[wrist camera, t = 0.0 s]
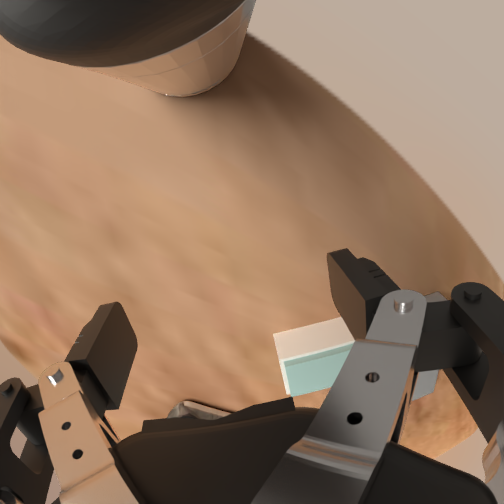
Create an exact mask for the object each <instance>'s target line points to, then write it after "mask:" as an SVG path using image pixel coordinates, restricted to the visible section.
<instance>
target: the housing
mask: <svg viewBox="0 0 504 504" xmlns="http://www.w3.org/2000/svg"><path fill="white" fill-rule="evenodd" d="M273 336H274V340H275V345H276V349H277V354H278V358H279V363H280V367H281V371H282V376H283V380H284V384H285V389H286V393H287V394H291V397H294V396H298V395H302V394H306V393H310V392H314V391H318V390H322V389H326V388H329V387H332V385H333V383H334V382H335V380H336V378H337V376H338V374H339V372H340V370H341V368H342V366H343V364H344V362H345V360H346V358H347V356H348V354H349V352H350V350H351V348H352V346H353V344H354V342H355V340H354V338H353V336H352V334H351V333H350V331H349V329H348V327H347V326H346V324H345V322H344V320H343V318H342V317H338V318H335V319H331V320H327V321H323V322H319V323H316V324H312V325H308V326H304V327H300V328H295V329H291V330H287V331H283V332H279V333H274V334H273Z"/></svg>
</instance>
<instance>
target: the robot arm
mask: <svg viewBox="0 0 504 504" xmlns="http://www.w3.org/2000/svg"><path fill="white" fill-rule="evenodd" d="M255 1H256V0H0V34H1V35H2V36H3V37H4V38H5V39H6V40H7V41H8V42H10V43H11V44H13V45H14V46H15V47H17V48H19V49H21V50H23V51H25V52H27V53H30V54H33V55H36V56H39V57H42V58H45V59H49V60H53V61H57V62H61V63H65V64H69V65H73V66H77V67H80V68H84V69H87V70H91V71H94V72H98V73H101V74H105V75H108V76H111V77H114V78H117V79H120V80H123V81H126V82H129V83H132V84H135V85H138V86H141V87H144V88H147V89H149V90H152V91H155V92H158V93H160V94H164V95H167V96H173V97H186V96H192V95H197V94H200V93H203V92H206V91H208V90H210V89H211V88H213V87H215V86H217V85H218V84H219V83H220V82H222V81H223V80H224V79H225V78H226V77H227V76H228V75H229V73H230V72H231V71H232V69H233V68H234V66H235V64H236V62H237V60H238V58H239V54H240V51H241V48H242V45H243V41H244V38H245V35H246V31H247V28H248V24H249V21H250V18H251V15H252V11H253V8H254V5H255ZM327 263H328V271H329V278H330V286H331V293H332V298H333V301H334V304H335V306H336V308H337V310H338V312H339V313H340V315H341V317H342V318H343V320H344V322H345V324H346V326H347V327H348V329H349V331H350V333H351V334H352V336H353V338H354V340H355V342H354V344H353V346H352V348H351V350H350V352H349V354H348V356H347V358H346V360H345V362H344V364H343V366H342V368H341V370H340V372H339V374H338V376H337V378H336V380H335V382H334V383H333V385H332V387H331V389H330V391H329V393H328V395H327V396H326V398H325V400H324V402H323V404H322V405H321V407H320V409H317V408H308V407H295V406H294V402H293V398H292V397H289V398H284V399H280V400H276V401H271V402H266V403H262V404H257V405H253V406H250V407H248V408H245V409H243V410H240V411H237V412H235V413H232V414H229V415H227V416H224V417H221V418H219V419H215V420H206V419H192V418H180V417H174V418H165V419H155V420H144V422H143V427H142V432H138V433H136V434H133V435H131V436H129V437H127V438H125V439H123V440H122V441H121V439H120V438H119V436H118V435H117V433H116V431H115V430H114V428H113V426H112V425H111V423H110V421H109V420H108V418H107V417H106V416H105V414H104V413H105V410H116V409H119V406H120V403H121V399H122V396H123V393H124V389H125V386H126V383H127V380H128V376H129V373H130V370H131V367H132V364H133V361H134V357H135V354H136V351H137V338H136V335H135V333H134V331H133V328H132V326H131V324H130V322H129V320H128V318H127V316H126V313H125V311H124V309H123V307H122V305H121V304H120V303H119V302H113V303H109V304H104V305H100V306H99V308H98V310H97V311H96V313H95V315H94V316H93V318H92V320H91V321H90V322H89V323H88V324H86V325H85V326H84V327H83V329H82V331H81V333H80V334H79V337H78V338H77V339H76V341H75V344H74V345H73V346H72V348H71V350H70V352H69V354H68V355H67V357H66V359H65V361H64V362H58V363H55V364H53V365H51V366H49V367H48V368H47V369H45V370H44V371H43V373H42V374H41V375H40V377H39V380H38V384H37V385H34V386H31V387H28V388H26V387H25V385H24V384H23V382H22V381H21V380H20V379H19V378H11V379H8V380H7V381H5V382H3V383H2V384H1V385H0V504H45V501H46V498H47V493H48V489H49V485H50V482H51V478H52V474H53V470H55V473H56V475H57V478H58V481H59V484H60V486H61V492H60V494H59V497H58V498H57V499H56V500H55V501H54V502H53V503H52V504H504V301H503V300H502V299H501V298H500V297H499V296H497V295H496V294H495V293H494V292H493V291H492V290H491V289H489V288H488V287H487V286H485V285H483V284H479V283H475V282H466V283H461V284H459V285H457V286H455V287H454V288H453V290H452V292H451V300H447V301H439V302H427V301H426V299H425V297H424V296H423V295H422V294H420V293H418V292H416V291H412V290H401V289H400V288H399V287H398V286H397V285H396V284H395V283H394V282H393V281H392V279H391V278H390V277H389V276H388V275H386V273H385V272H384V271H383V270H382V269H380V267H379V266H378V265H377V264H376V263H375V262H373V261H371V260H368V259H366V258H359V259H357V258H356V257H355V256H354V255H353V254H352V253H351V252H350V251H349V250H348V249H347V248H346V249H342V250H338V251H334V252H330V253H327ZM440 369H443V371H444V372H445V374H446V375H447V377H448V378H449V380H450V381H451V383H452V384H453V386H454V388H455V389H456V391H457V392H458V394H459V396H460V397H461V399H462V400H463V402H464V404H465V405H466V407H467V409H468V410H469V412H470V414H471V415H472V417H473V419H474V420H475V422H476V424H477V425H478V427H479V429H480V431H481V432H482V434H483V436H484V437H485V439H486V441H487V443H488V445H487V447H486V448H485V451H484V453H483V457H482V463H483V467H484V471H485V476H486V477H485V483H484V482H483V481H481V480H480V479H478V478H477V477H475V476H473V475H471V474H469V473H466V472H463V471H461V470H458V469H456V468H453V467H450V466H448V465H445V464H443V463H440V462H438V461H436V460H433V459H431V458H429V457H426V456H424V455H422V454H419V453H417V452H415V451H413V450H410V449H408V448H406V447H404V446H402V445H399V443H400V440H401V437H402V433H403V430H404V426H405V422H406V418H407V415H408V412H409V408H410V405H411V401H412V398H413V394H414V390H415V387H416V383H417V379H418V375H419V372H424V371H432V370H440ZM16 426H17V427H18V429H19V430H20V431H21V432H22V433H23V434H24V435H25V436H26V437H27V441H26V444H25V446H24V449H23V452H22V454H21V457H20V459H19V458H18V457H17V456H16V455H15V454H14V453H13V452H12V450H11V447H10V439H11V437H12V434H13V432H14V430H15V428H16Z"/></svg>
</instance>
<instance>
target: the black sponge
mask: <svg viewBox="0 0 504 504" xmlns="http://www.w3.org/2000/svg"><path fill="white" fill-rule="evenodd" d="M229 414H232V413H228V412H225V411H221V410H217V409H214V408H210V407H207V406H204V405H200V404H197V403H194V402H191V401H182V402H180V403H178V404H177V405H176V406H175V407H174V408H173V409H172V410H171V411H170V413H169V414H168V417H167V418H174V417H180V418H192V419H206V420H215V419H219V418H221V417H224V416H227V415H229Z"/></svg>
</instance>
